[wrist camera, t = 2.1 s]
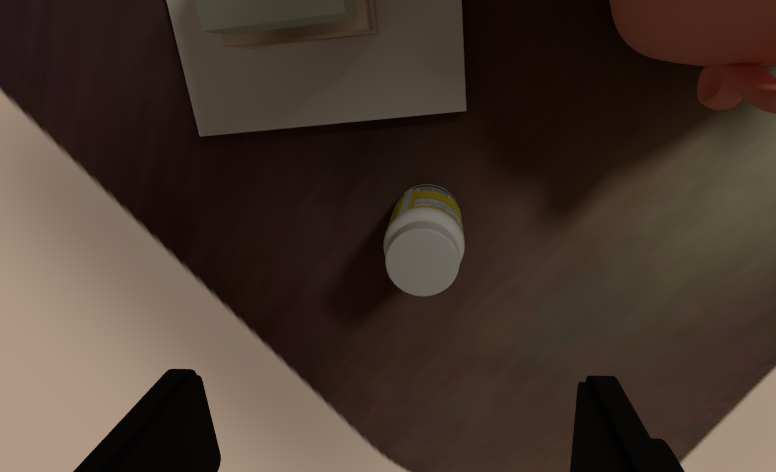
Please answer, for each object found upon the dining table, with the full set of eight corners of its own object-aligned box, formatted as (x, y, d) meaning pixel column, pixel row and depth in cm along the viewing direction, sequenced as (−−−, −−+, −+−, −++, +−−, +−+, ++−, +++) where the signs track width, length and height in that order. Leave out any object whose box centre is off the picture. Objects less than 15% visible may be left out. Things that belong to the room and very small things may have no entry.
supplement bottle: (414, 257, 33) (403, 316, 25) (381, 202, 32) (360, 247, 24) (473, 228, 32) (482, 281, 24) (441, 170, 30) (439, 206, 23)
